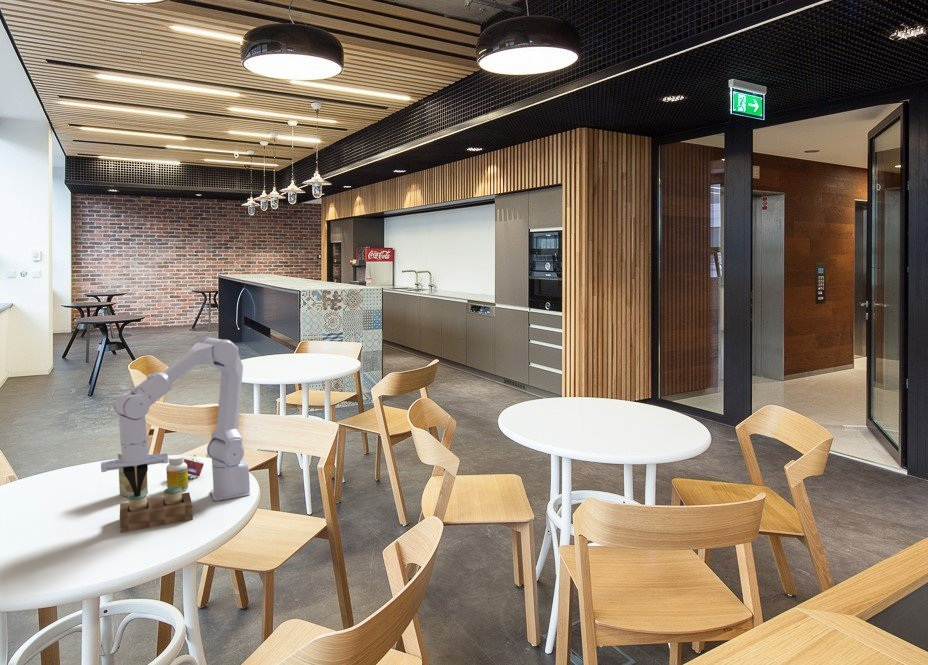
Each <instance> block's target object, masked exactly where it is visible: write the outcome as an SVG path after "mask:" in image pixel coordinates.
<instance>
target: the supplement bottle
mask: <svg viewBox="0 0 928 665" xmlns="http://www.w3.org/2000/svg"><path fill="white" fill-rule="evenodd" d="M184 459H185V456H184V455H183V454H174V455H171V456H168V464H167V466H166V469H165V470H166V486H167V488H170V487H181V488H182V493H184V492H185V491H187V490H188V489H189V476H188V471H187V464H186V463H185V462H184ZM167 488H166V489H167Z"/></svg>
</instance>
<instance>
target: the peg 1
mask: <svg viewBox="0 0 928 665" xmlns="http://www.w3.org/2000/svg"><path fill="white" fill-rule="evenodd" d="M147 494H148V493H147ZM147 494H146V493H144V492H141V495H140V496H134V494H131V495H129V496H128V497H127V499H128V502H129V512H131V511H137V510H143V509H147V499H148V496H147Z"/></svg>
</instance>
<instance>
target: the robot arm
mask: <svg viewBox="0 0 928 665" xmlns="http://www.w3.org/2000/svg"><path fill="white" fill-rule="evenodd" d="M239 349H240V348H239V347H238V346H237V345H236V344H235V343H234V342H233V341H232V340H229V339H221V338H215V337H213V336H205V337H203V338H202V339H200V341H198V342H195V344H193V345H192V347H191V348H190V349H189V350H188V351H187V352H186V353H184V354H183V355H182V356H181V357H180V358H179V359H177V360H176V361H175V362H174V363H172V365H170V366H169V367H168V368H167V369H165V370H164V371H163V372H154V373H149V374H148V375H146V379H145V380H144V381H142V382H141V383H140V384H138V385H137V386H135V387H134V386H133V387H131V388H130V392H124V393H122V394H120V395H119V396H118V397H117V399H116V401H115V404H114V405H112V406H113V409H114V412H116V414H117V415H118V420H119V421H118V422H119V424H118V427H119V438H120V452H121V456H122V458H121V459H118V458H116V459H112V460H108V461H101V462H100V470H101V473H105V472H106V473H107V472H108V471H113V470H114V471H115V470H119V469H123V473H124V475H125V477H126V478H127V479H128V481H129V483H130V485H131V487H132V489H133V493H134V496H140V495H141V487H142V483H143V480H144V477H145V475H146V473H147V474H148V470H149V467H148V466H151V465H157V464H159V465H160V464H169V459H168V458H169V456H168V453H159V454H158V453H157V454H149V453H148V452H149V451H148V439H147V438H148V436H147V425H146V424H147V423H146V415H147V414H148V413H149V410H150V408H151V406H152V405H154V404H155V403H156V402H158V400H160V399H161V398H162V397H164V396H165V395H166V394H167V393H168V392H170V391H171V390H172V388H173V383H174V382H176V381H177V380H179V378H181V377H182V376H184V375H185V374H187V373H188V372H190V371H191V370H193V369H194V368H196V367H197V366H198V365H203V364H204V365H205V364H213V365H214V366H215V367H216V368H217V369H218V370H219V371H220V374H221V377H220V388H219V398H218V409H217V420H216V428H215V430H213V431H212V432H211V437H210V440H209V442H208V444H207V447H206V454H207V455H208V457H209V458H210V459H211V467H212V483H213V484H212V486H213V487H212V488H213V489H210V494H211V496H212V500H213V501H214V502H216V501H221V500H222V501H224V500H226V499H227V500H228V499H234V498H240V497H245V496H250V495H251V492H250V491H251V488H250V486H251V485H250V470H249V469H250V468H249V462H248V461H247V460H243V458H244V457H245V449H244V446H243V436H242V435H241V433H240V431H239V430H238V425H239V416H240V405H241V395H242V394H241V393H242V382H243V374H244V372H243V371H244V365H243V363H242V362H243V361H242V359H241V357H240V354H239ZM135 467H136V468H137V486H136V479H135Z"/></svg>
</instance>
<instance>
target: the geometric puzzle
mask: <svg viewBox="0 0 928 665" xmlns="http://www.w3.org/2000/svg"><path fill="white" fill-rule="evenodd" d="M188 457H189V456H186V458H185V457H184V462H185V463H186V464H187V471H188V475H190V476H189V478H191V477H192V476H193V477H196V476H199V477H200V475H201V473H202V471H203V467H204V464H205V463H203V462H202V460H200V459H199V460H197V461H196V460H195V459H194V458H196V457H197V455H193V456H192V455H191V459H190V458H188ZM200 461H201V462H200Z"/></svg>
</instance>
